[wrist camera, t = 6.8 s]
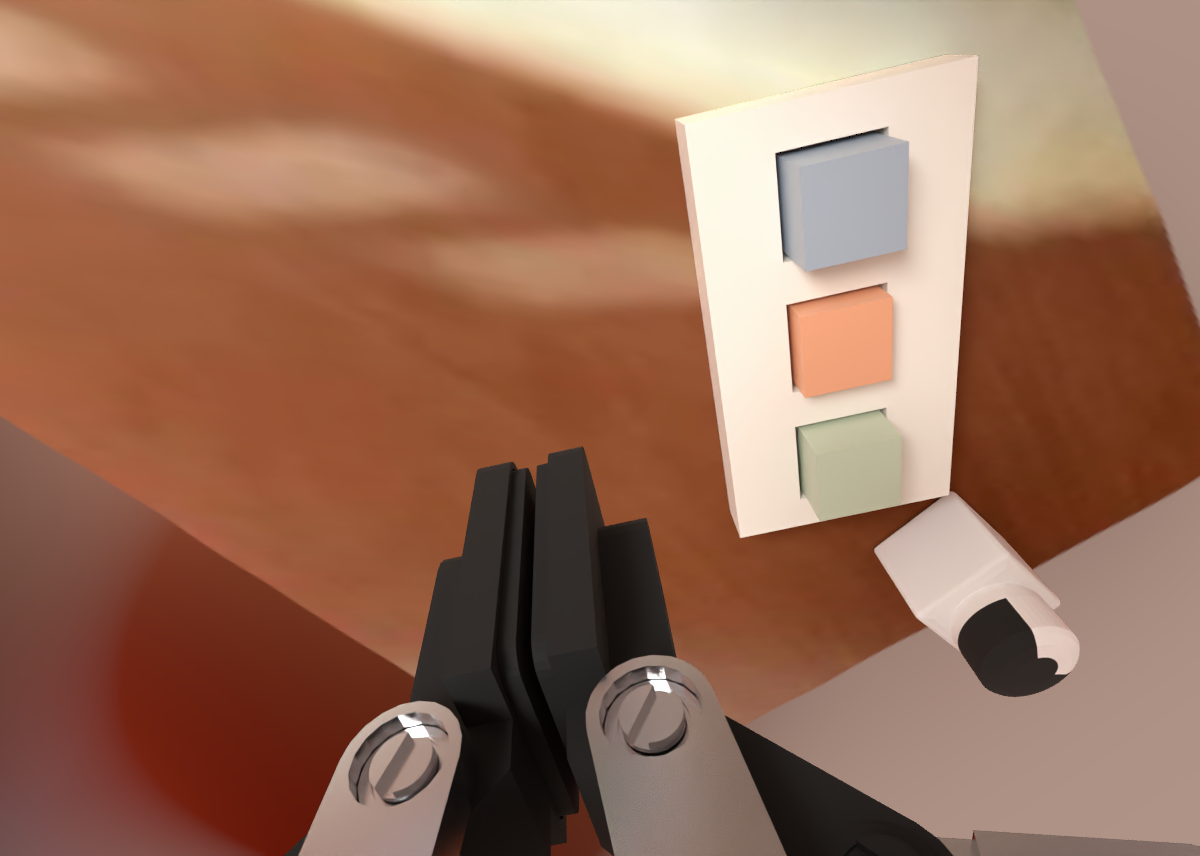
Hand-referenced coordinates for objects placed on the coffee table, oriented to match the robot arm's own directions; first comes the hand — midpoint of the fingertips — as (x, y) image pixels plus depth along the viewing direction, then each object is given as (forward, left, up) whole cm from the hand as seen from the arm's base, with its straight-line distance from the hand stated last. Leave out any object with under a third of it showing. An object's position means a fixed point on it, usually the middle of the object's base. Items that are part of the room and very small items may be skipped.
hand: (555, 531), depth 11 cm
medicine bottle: (+31, +22, -29) cm, 48 cm away
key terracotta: (+11, +14, -29) cm, 34 cm away
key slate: (+3, +14, -27) cm, 31 cm away
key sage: (+19, +14, -27) cm, 36 cm away
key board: (+11, +14, -29) cm, 34 cm away
